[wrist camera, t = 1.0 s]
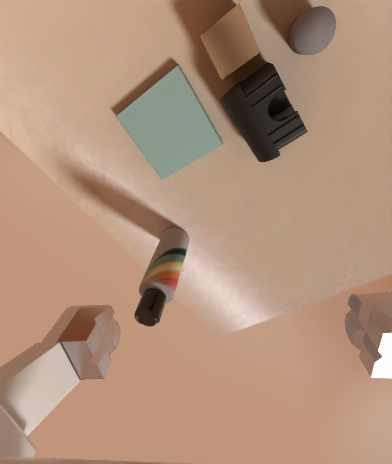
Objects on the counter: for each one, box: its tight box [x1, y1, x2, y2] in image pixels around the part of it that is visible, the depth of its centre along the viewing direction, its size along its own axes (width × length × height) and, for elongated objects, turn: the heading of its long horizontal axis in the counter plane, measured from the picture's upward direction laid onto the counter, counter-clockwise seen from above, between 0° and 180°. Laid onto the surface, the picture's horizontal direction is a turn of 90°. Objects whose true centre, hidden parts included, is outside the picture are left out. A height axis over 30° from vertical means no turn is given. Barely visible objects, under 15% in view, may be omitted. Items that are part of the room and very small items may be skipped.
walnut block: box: [200, 3, 260, 80], centre depth 30 cm, size 5×5×5 cm
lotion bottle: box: [135, 227, 189, 326], centre depth 44 cm, size 6×6×20 cm
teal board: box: [116, 65, 223, 180], centre depth 39 cm, size 12×12×1 cm
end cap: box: [221, 63, 307, 162], centre depth 33 cm, size 10×7×7 cm
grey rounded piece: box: [288, 6, 336, 55], centre depth 28 cm, size 4×4×5 cm
